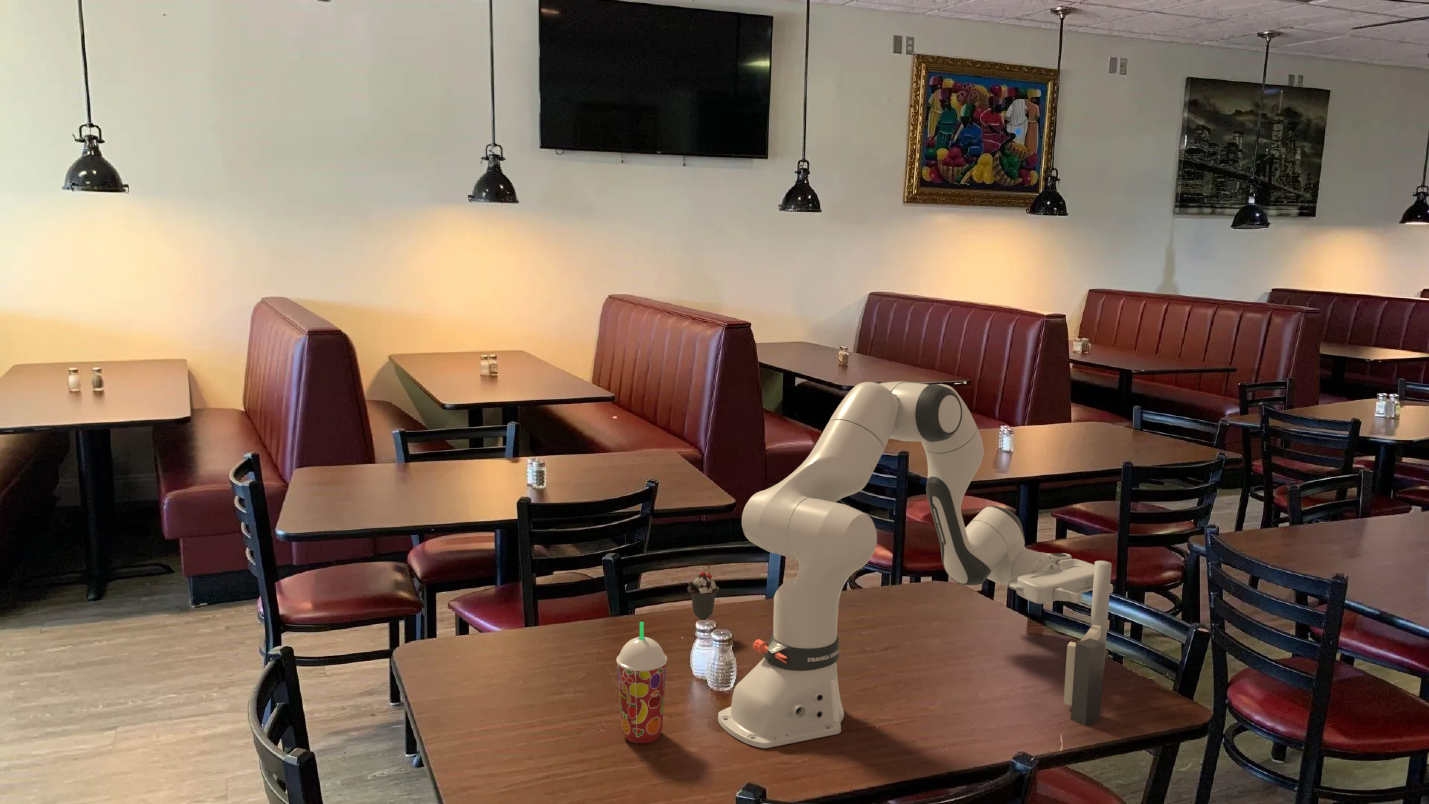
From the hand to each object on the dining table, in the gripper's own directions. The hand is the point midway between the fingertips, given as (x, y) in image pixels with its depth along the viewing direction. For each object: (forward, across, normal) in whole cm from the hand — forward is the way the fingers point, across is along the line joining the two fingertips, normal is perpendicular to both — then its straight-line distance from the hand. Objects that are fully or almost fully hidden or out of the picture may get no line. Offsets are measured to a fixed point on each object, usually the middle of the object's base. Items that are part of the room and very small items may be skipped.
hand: (1095, 594), depth 201 cm
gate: (+5, -9, +14) cm, 18 cm away
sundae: (-55, -55, +15) cm, 79 cm away
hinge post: (+14, -19, +15) cm, 28 cm away
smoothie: (-23, -87, +15) cm, 92 cm away
